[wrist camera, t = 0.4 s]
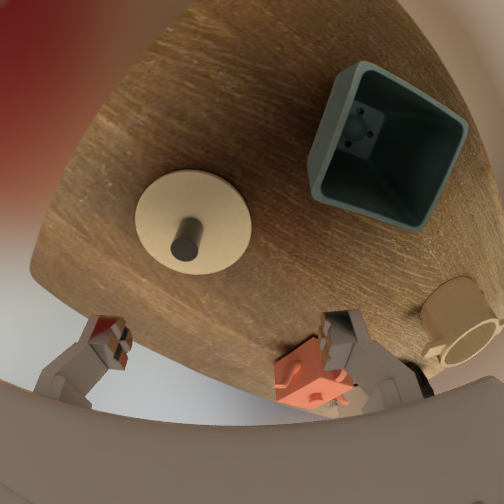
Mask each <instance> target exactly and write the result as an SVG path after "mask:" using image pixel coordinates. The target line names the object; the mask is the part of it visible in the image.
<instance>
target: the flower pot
mask: <svg viewBox="0 0 504 504" xmlns="http://www.w3.org/2000/svg"><path fill="white" fill-rule="evenodd" d="M359 108H361V109H362V110H363V112H362V113H361V114H359V113H358V112H357V110H358V109H359ZM468 128H469V125H468V123H467V122H466V121H465V120H464V119H463V118H461V117H460V116H459V115H457V114H456V113H454V112H453V111H451V110H450V109H449V108H447V107H446V106H444V105H443V104H441V103H440V102H438V101H437V100H435V99H434V98H432V97H431V96H429V95H428V94H426V93H424V92H423V91H421V90H419V89H418V88H416V87H414V86H413V85H411V84H409V83H408V82H406V81H404V80H402V79H401V78H399V77H397V76H395V75H394V74H392V73H390V72H388V71H386V70H385V69H383V68H381V67H379V66H377V65H375V64H373V63H371V62H368V61H361V62H359V63H357V64H355V65H352V66H350V67H348V68H346V69H344V70H342V71H341V72H340V73H339V74H338V75H337V77H336V79H335V81H334V84H333V87H332V90H331V93H330V96H329V99H328V102H327V105H326V108H325V111H324V114H323V116H322V119H321V122H320V125H319V128H318V131H317V133H316V136H315V139H314V142H313V144H312V147H311V150H310V153H309V155H308V159H307V171H308V177H309V183H310V189H311V195H312V197H313V199H315V200H317V201H319V202H321V203H325V204H328V205H332V206H336V207H339V208H342V209H346V210H350V211H353V212H356V213H360V214H362V215H365V216H369V217H372V218H375V219H378V220H380V221H383V222H386V223H389V224H391V225H395V226H397V227H400V228H403V229H405V230H408V231H411V232H415V233H418V232H421V231H422V230H423V228H424V227H425V225H426V224H427V221H428V219H429V217H430V216H431V214H432V212H433V210H434V208H435V206H436V203H437V202H438V200H439V197H440V195H441V193H442V191H443V189H444V187H445V185H446V183H447V181H448V179H449V177H450V174H451V172H452V170H453V167H454V165H455V163H456V160H457V158H458V156H459V153H460V151H461V149H462V146H463V144H464V142H465V140H466V137H467V134H468ZM369 131H371V132H372V136H371V137H368V136H367V133H368V132H369ZM347 141H349V142H350V146H349V147H346V146H345V142H347Z"/></svg>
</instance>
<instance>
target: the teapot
mask: <svg viewBox="0 0 504 504" xmlns="http://www.w3.org/2000/svg"><path fill="white" fill-rule="evenodd" d="M322 353H323V351H322V350H321V349H320V347H319V341H318V339H317V338H315V337H312V338H311V339H310V340H308V341H307V342H305V343H304V344H303V345H301V346H300V347H298V348H297V349H295V350H294V351H293V352H291V353H290V354H288V355H287V356H285V357H284V358H282V359H281V360H279V361H278V362H276V363H275V364H274V371H275V385H273V386H274V387H275V388H276V401H277V402H282V403H286V404H288V405H290V406H299V407H303V408H308V409H313V408H316V407H318V406H320V405H322V404H324V403H326V402H328V401H330V400H332V399H334V398H336V400H337V401H338V402H339V403H341V404H344V405H347V404H349V402H348V401H347V400H346V399H345V398H344V396H343V393H345V392H347V391H349V390H350V389H352V388H354V384H353V380H352V378H351V377H350V376H349V375H348V373H347V372H346V371H345V370H344V369H338V370H328V371H324V367H323V362H322Z"/></svg>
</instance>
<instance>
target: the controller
mask: <svg viewBox="0 0 504 504" xmlns="http://www.w3.org/2000/svg"><path fill="white" fill-rule="evenodd" d="M406 366H407V367H408V368H410V369H411V370H412V371H413V372H414V373H415V375H416V378H417V381H418V384H419V386H420V389H421V392H422V395H423V398H424V399H425V398H429V397H432V396H435V395H434V392H433V389H432V387H431V386H430V384H429V382H428V380H427V378H426V376H425V374H424V373H423V372H422V370H421V369H420V368H419V367H418V366H417V365H415V364H408V365H406Z"/></svg>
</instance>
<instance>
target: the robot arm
mask: <svg viewBox="0 0 504 504" xmlns="http://www.w3.org/2000/svg"><path fill="white" fill-rule="evenodd" d="M125 323H126V322H125V320H124V318H123V317H117V316H104V315H92V316H90V318H89V320H88V322H87V324H86V326H85V328H84V330H83V333H82V335H81V337H80V339H79V341H78V343H77V342H76V343H74V344H73V345H72V346H70V347H69V348H68V349H67V350H66V351H64V352H63V353H62V354H61V355H59V356H58V357H57V358H56V359H55V360H54V361H52V362H51V363H50V364H49V365H48V366H46V367H45V368H44V369H43V370H42V372H41V374H40V376H39V379H38V381H37V384H36V386H35V389H34V391H33V392H31V391H29V390H26V389H24V388H21V387H18V386H16V385H13V384H11V383H8V382H6V381H3V380H1V379H0V504H504V383H503V382H501V381H500V380H499V379H497V378H495V377H494V376H485V377H483V378H480V379H478V380H476V381H473V382H471V383H468V384H466V385H463V386H461V387H458V388H455V389H452V390H450V391H447V392H444V393H441V394H438V395H435V396H432V397H429V398H425V399H424V398H423V395H422V392H421V389H420V386H419V384H418V381H417V378H416V375H415V373H414V372H413V371H412V370H411V369H410V368H408V367H407V366H406V365H405V364H403V363H402V362H401V361H400V360H398V359H397V358H396V357H395V356H394V355H392V354H391V353H390V352H389V351H387V350H386V349H385V348H384V347H382V346H381V345H380V344H379V343H377V342H376V341H375V340H371V339H370V336H369V333H368V330H367V328H366V325H365V322H364V319H363V317H362V314H361V311H360V310H359V309H354V310H343V311H333V312H323V313H322V314H321V323H322V324H321V325H320V326H319V331H318V341H319V347H320V349H321V350H322V351H323V353H322V362H323V367H324V371H328V370H338V369H344V370H345V371H346V372H347V373H348V375H349V376H350V377H351V378H352V379H353V380H354V381H355V382H356V383H357V384H358V385H359V387H360V388H361V389H362V390H363V391H364V392H365V393H366V394H367V395H368V396H369V397H370V398H369V399H368V401H367V402H366V404H365V405H364V407H363V408H362V409H361V411H362V414H360V415H355V416H349V417H343V418H337V419H330V420H322V421H314V422H305V423H294V424H283V425H260V426H216V425H215V426H213V425H195V424H182V423H171V422H162V421H154V420H146V419H140V418H133V417H127V416H122V415H116V414H111V413H106V412H102V411H97V410H93V409H91V407H92V404H91V403H90V402H89V401H88V400H87V399H86V398H85V396H86V395H87V393H88V392H89V391H90V390H91V389H92V388H93V387H94V385H95V384H96V383H97V382H98V381H99V380H100V379H101V377H102V376H103V375H104V374H105V373H106V372H107V371H108V369H116V370H125V367H126V363H127V360H128V357H127V354H126V353H128V351H130V350H131V347H132V334H131V332H130V330H129V329H128V328H127V327H126V326H125Z"/></svg>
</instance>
